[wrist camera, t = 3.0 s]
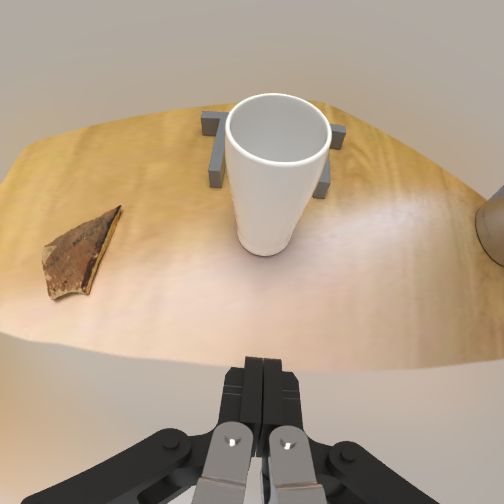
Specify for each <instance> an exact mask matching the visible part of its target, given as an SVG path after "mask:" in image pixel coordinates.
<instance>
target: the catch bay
mask: <svg viewBox="0 0 504 504" xmlns="http://www.w3.org/2000/svg"><path fill="white" fill-rule="evenodd" d="M228 115H229V112H210V111H203V112H202V115H201V124H202V132H203V135H212V136H216V138H215V143H214V147H213V151H212V156H211V160H210V165H209V169H208V172H209V180H210V187H215V188H221V187H222V182H223V176H224V171H225V165H226V161H225V123H226V119H227V116H228ZM330 127H331V131H332V140H331V144H330V148H334V149H340V148H341V145H342V143H343V140H344V137H345V135H346V129H345V126H341V125H335V124H330ZM329 185H330V165H329V152H328V156H327V159H326V162H325V166H324V169H323V172H322V174H321V177H320V179H319V182H318V184H317V186H316V188H315V190H314V192H313V198H321V199H324V198H325V195H326V193H327V190H328V188H329Z"/></svg>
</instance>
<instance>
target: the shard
mask: <svg viewBox="0 0 504 504" xmlns="http://www.w3.org/2000/svg"><path fill="white" fill-rule="evenodd" d="M120 209H121V205H119V206H118V207H116V208H115V209H112V210H110V211H108V212H106V213H104V214H103V215H101V216H100V217H97V218H95V219H93V220H91V221H89V222H86V223H83V224H81V225H80V226H78V227H76V228H74V229H71V230H70V231H68V232H66V233H65V234H63V235H61V236H59V237H58V238H56V239H55V240H54V241H53V242H51V243H49V244H48V245H46V246H44V248H43V249H42V264H43V270H44V273H45V279H46V283H47V289H48V295H49V297H50V298H51V300H53V299H55V298H57V297H59V296H62V295H64V294H67V293H69V292H75V293H80V294H87V295H88V294H89V292H90V287H91V283H92V280H93V277H94V274H95V272H96V270H97V265H98V263H99V261H100V259H101V257H102V256H103V254H104V252H105V249H106V248H107V245H108V243H109V241H110V239H111V237H112V235H113V233H114V231H115V228H116V226H117V222H118V220H119V216H120Z"/></svg>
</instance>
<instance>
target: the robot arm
mask: <svg viewBox="0 0 504 504" xmlns="http://www.w3.org/2000/svg"><path fill="white" fill-rule="evenodd" d="M476 228H477V233H478V236H479V239H480V241H481V243H482V245H483V247H484V249H485V250H486V252H487V253H488V254H489V256H490V257H491V258H492V259H493V260H494V261H496V262H497V263H499V264H501V265H503V266H504V185H503V186H502V187H501V188H500V189H499V190H498V191H497V192H496V193H495V194H494V195H493V196H492V198H490V199H489V200H488V201H487V202H486V203H485V204H484V205H483V206H482V207H481V208H480V209H479V210H478V212H477V215H476ZM255 452H256V457H262V468H261V472H260V478H261V494H262V504H439V503H438V502H436V501H435V500H434V499H432V498H430V497H429V496H428V495H426V494H425V493H423V492H422V491H420V490H419V489H417V488H416V487H415V486H413V485H412V484H410V483H409V482H408V481H406V480H405V479H404V478H402V477H401V476H399V475H398V474H397V473H395V472H394V471H393V470H391V469H390V468H388V467H387V466H386V465H385V464H383V463H382V462H381V461H379V460H378V459H377V458H375V457H374V456H373V455H371V454H370V453H369V452H367V451H366V450H365V449H364V448H363V447H361V446H360V445H358V444H357V443H354V442H350V441H342V442H339V443H336V444H335V445H334V446H328V445H325V444H321V443H318V442H315V441H313V440H312V439H310V438H309V437H308V436H307V435H306V433H305V432H304V430H303V423H302V412H301V402H300V392H299V382H298V380H297V378H296V377H295V375H294V374H293V372H284V371H282V362H281V359H270V358H264V360H263V358H257V357H247V356H246V357H245V366H244V368H236V367H231V369H230V370H229V371H228V372H227V374H226V375H225V381H224V387H223V394H222V400H221V407H220V413H219V419H218V423H217V425H216V427H215V428H214V429H213V430H211V431H210V432H208V433H206V434H203V435H196V436H187V435H186V434H185V433H184V432H182V431H180V430H178V429H173V428H167V429H162V430H160V431H158V432H156V433H154V434H153V435H151V436H149V437H148V438H146V439H144V440H142V441H141V442H139V443H137V444H135V445H134V446H132V447H130V448H128V449H126V450H124V451H122V452H121V453H119V454H117V455H115V456H113V457H111V458H109V459H108V460H106V461H104V462H102V463H100V464H98V465H96V466H94V467H92V468H90V469H88V470H86V471H84V472H82V473H80V474H78V475H76V476H73V477H71V478H69V479H67V480H65V481H63V482H61V483H58V484H56V485H54V486H52V487H49V488H47V489H45V490H42V491H40V492H38V493H35V494H33V495H31V496H28V497H26V498H25V499H24V500H23V501H22V502H21V504H167V503H168V502H170V501H171V500H173V499H174V498H176V497H177V496H179V495H180V494H182V493H183V492H184V491H186V490H187V489H189V488H190V487H191V486H194V485H196V489H195V493H194V496H193V500H192V503H191V504H243V501H244V495H245V488H246V481H247V475H248V471H249V467H250V462H251V457H254V456H255Z"/></svg>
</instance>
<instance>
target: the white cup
mask: <svg viewBox="0 0 504 504" xmlns="http://www.w3.org/2000/svg"><path fill="white" fill-rule="evenodd" d="M331 140H332V131H331V127H330V124H329V122H328V120H327V119H326V117H325V116H324V114H323V113H322V112H321V111H320V110H319V109H317V108H316V107H315V106H314V105H312V104H310V103H309V102H307V101H305V100H303V99H300V98H298V97H294V96H291V95H286V94H277V93H268V94H260V95H256V96H252V97H250V98H247V99H245V100H243V101H242V102H240V103H238V104H237V105H236V106H235V107H234V108H233V109H232V110H231V111H230V113H229V115H228V116H227V119H226V123H225V161H226V170H227V177H228V182H229V187H230V192H231V197H232V202H233V207H234V212H235V217H236V223H237V234H238V238H239V240H240V242H241V244H242V245H243V246H244V248H245V249H247V250H248V251H249V252H251V253H253V254H256V255H260V256H270V255H274V254H277V253H279V252H280V251H282V250H283V249H284V248H285V247H286V246H287V244H288V243H289V241H290V238H291V236H292V233H293V231H294V229H295V227H296V225H297V223H298V221H299V219H300V217H301V215H302V213H303V211H304V210H305V208H306V206H307V204H308V202H309V200H310V198H311V196H312V194H313V192H314V190H315V188H316V186H317V184H318V182H319V179H320V177H321V174H322V172H323V169H324V166H325V162H326V159H327V156H328V152H329V148H330V144H331Z"/></svg>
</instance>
